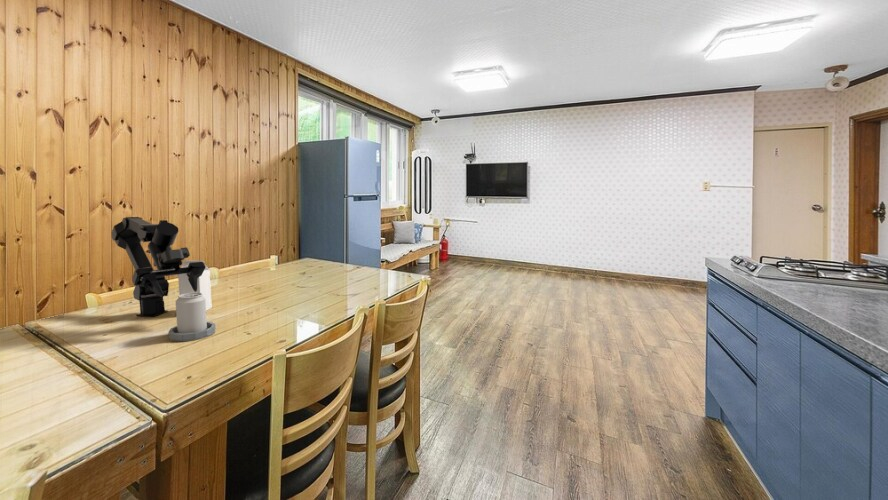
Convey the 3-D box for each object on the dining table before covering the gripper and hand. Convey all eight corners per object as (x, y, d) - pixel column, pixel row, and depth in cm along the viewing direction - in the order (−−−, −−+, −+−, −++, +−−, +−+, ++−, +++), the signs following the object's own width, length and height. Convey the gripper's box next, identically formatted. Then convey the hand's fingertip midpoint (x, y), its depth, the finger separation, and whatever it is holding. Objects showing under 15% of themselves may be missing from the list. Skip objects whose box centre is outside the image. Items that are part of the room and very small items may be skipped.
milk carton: (192, 308, 139) (189, 258, 136) (212, 308, 139) (209, 259, 137) (180, 314, 132) (177, 262, 129) (201, 314, 132) (198, 262, 130)
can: (202, 335, 111) (199, 297, 109) (173, 337, 109) (170, 298, 107) (210, 327, 118) (208, 290, 116) (183, 328, 116) (181, 291, 114)
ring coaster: (159, 339, 108) (159, 333, 108) (190, 326, 120) (189, 320, 119) (196, 342, 107) (195, 335, 107) (223, 328, 118) (223, 322, 118)
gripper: (132, 242, 109) (149, 284, 104) (201, 237, 124) (219, 274, 120) (125, 264, 114) (141, 305, 110) (192, 257, 130) (209, 293, 125)
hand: (179, 293), depth 116 cm, fingers open, 9 cm apart
